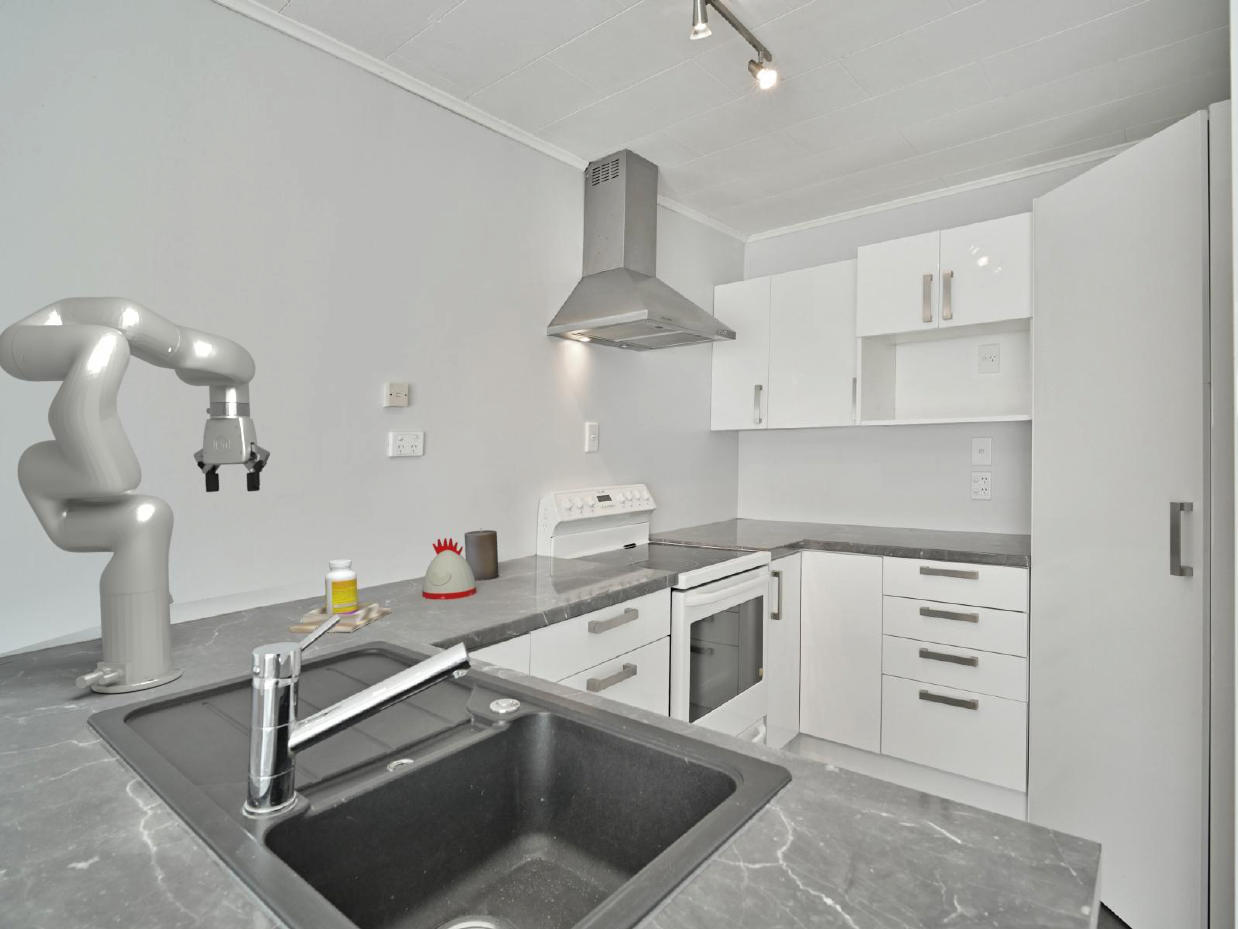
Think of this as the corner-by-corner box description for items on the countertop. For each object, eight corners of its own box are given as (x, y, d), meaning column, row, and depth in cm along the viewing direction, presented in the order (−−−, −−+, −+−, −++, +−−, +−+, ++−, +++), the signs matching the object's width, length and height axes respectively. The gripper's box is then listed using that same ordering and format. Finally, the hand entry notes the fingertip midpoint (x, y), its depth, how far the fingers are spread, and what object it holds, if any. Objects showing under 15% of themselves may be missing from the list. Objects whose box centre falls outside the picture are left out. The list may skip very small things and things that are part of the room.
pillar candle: (503, 574, 206) (501, 525, 206) (491, 580, 196) (489, 529, 196) (473, 574, 208) (471, 526, 208) (460, 580, 198) (458, 530, 198)
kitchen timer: (435, 588, 187) (434, 535, 187) (483, 588, 185) (481, 534, 185) (413, 599, 174) (411, 541, 173) (464, 600, 172) (463, 541, 171)
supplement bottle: (364, 616, 152) (362, 559, 152) (338, 622, 147) (336, 564, 147) (346, 612, 156) (344, 557, 156) (319, 619, 150) (318, 561, 150)
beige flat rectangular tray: (351, 633, 142) (350, 618, 142) (290, 632, 144) (289, 618, 144) (391, 612, 160) (391, 599, 159) (336, 611, 161) (336, 599, 161)
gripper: (180, 412, 143) (183, 493, 143) (255, 410, 140) (258, 491, 141) (206, 414, 150) (209, 491, 151) (278, 412, 148) (280, 489, 148)
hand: (233, 491), depth 146 cm, fingers open, 9 cm apart
